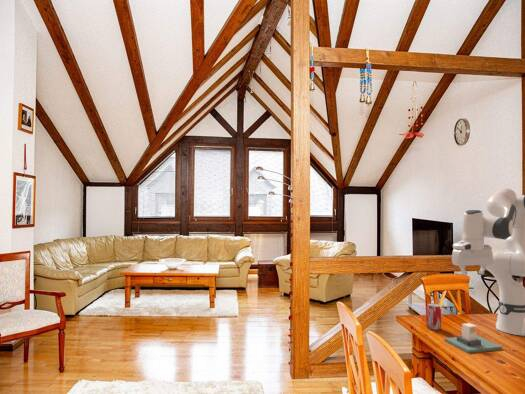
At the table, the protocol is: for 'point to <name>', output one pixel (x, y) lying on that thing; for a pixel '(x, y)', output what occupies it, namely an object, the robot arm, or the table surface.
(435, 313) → the soda can
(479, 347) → the board
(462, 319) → the table surface
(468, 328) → the plug
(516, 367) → the table surface
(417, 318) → the table surface
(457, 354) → the table surface
